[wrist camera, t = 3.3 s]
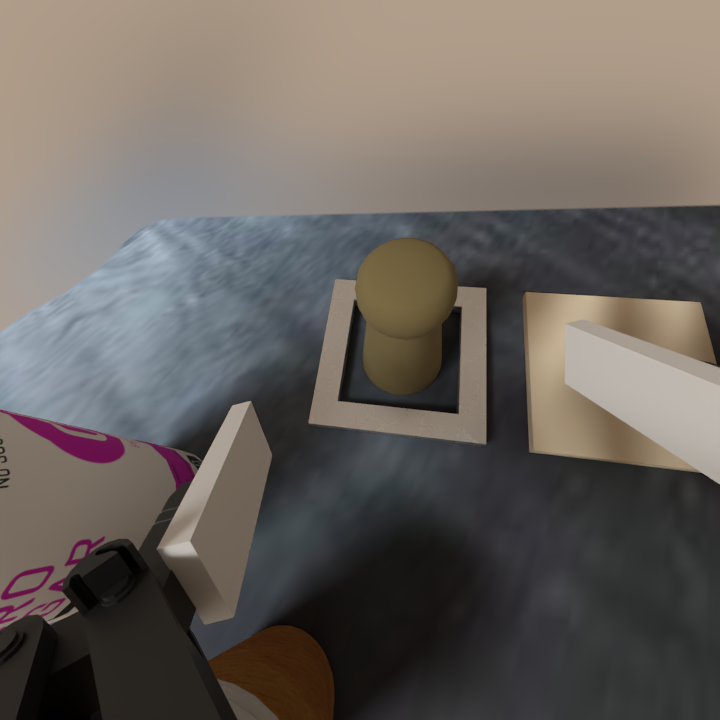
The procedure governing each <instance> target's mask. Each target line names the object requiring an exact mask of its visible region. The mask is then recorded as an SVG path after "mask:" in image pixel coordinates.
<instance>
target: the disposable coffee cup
mask: <svg viewBox="0 0 720 720" xmlns="http://www.w3.org/2000/svg"><path fill="white" fill-rule="evenodd" d="M208 663H209V665H210V667H211V669H212V671H213V672H214V674H215V676H216V678H217V680H218V682H219V684H220V686H221V688H222V690H223V692H224V694H225V696H226V698H227V700H228V702H229V704H230V706H231V708H232V710H233V712H234V713H235V715H236V717H237V719H238V720H333V708H334V694H335V689H334V681H333V674H332V671H331V668H330V665H329V662H328V659H327V657H326V655H325V653H324V651H323V649H322V648H321V647H320V645H319V644H318V643H317V641H316V640H315V639H313V638H312V637H311V636H310V635H309V634H308V633H306V632H304V631H303V630H301V629H299V628H296V627H293V626H284V625H277V626H272V627H268V628H266V629H264V630H262V631H260V632H258V633H257V634H255V635H253V636H252V637H250V638H248V639H246V640H244V641H243V642H241V643H239V644H237V645H236V646H234V647H232V648H230V649H228V650H227V651H225V652H223V653H221V654H220V655H218V656H216V657H214V658H213V659H211V660H209V661H208Z"/></svg>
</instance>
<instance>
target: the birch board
mask: <svg viewBox="0 0 720 720" xmlns="http://www.w3.org/2000/svg"><path fill="white" fill-rule="evenodd" d="M522 300H523V323H524V345H525V367H526V390H527V412H528V435H529V452H533V453H541V454H549V455H558V456H566V457H574V458H583V459H591V460H599V461H608V462H616V463H624V464H633V465H641V466H649V467H658V468H666V469H675V470H683V471H691V472H700V471H698V470H697V469H695V468H694V467H692V466H691V465H689V464H688V463H686V462H685V461H683V460H682V459H680V458H679V457H677V456H676V455H674V454H672V453H671V452H669V451H668V450H666V449H665V448H663V447H662V446H660V445H659V444H657V443H656V442H654V441H653V440H651V439H649V438H648V437H646V436H645V435H643V434H642V433H640V432H639V431H637V430H636V429H634V428H633V427H631V426H630V425H628V424H627V423H625V422H623V421H622V420H620V419H619V418H617V417H616V416H614V415H613V414H611V413H610V412H608V411H607V410H605V409H604V408H602V407H600V406H599V405H597V404H596V403H594V402H593V401H591V400H590V399H588V398H587V397H585V396H584V395H582V394H581V393H579V392H578V391H576V390H574V389H573V388H571V387H570V386H568V385H567V384H565V324H566V323H570V322H574V321H578V320H582V319H584V320H587V321H590V322H593V323H595V324H598V325H601V326H604V327H607V328H609V329H612V330H615V331H618V332H621V333H623V334H626V335H629V336H632V337H635V338H637V339H640V340H643V341H646V342H649V343H651V344H654V345H657V346H660V347H663V348H665V349H668V350H671V351H674V352H677V353H679V354H682V355H685V356H688V357H691V358H693V359H696V360H701V361H707V362H711V363H714V364H717V363H716V360H715V356H714V352H713V348H712V344H711V340H710V337H709V333H708V329H707V325H706V321H705V318H704V314H703V310H702V306H701V302H685V301H669V300H652V299H635V298H618V297H602V296H585V295H568V294H551V293H535V292H526V293H525V294H524V296H523V297H522ZM700 473H702V472H700Z"/></svg>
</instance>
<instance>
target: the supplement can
mask: <svg viewBox="0 0 720 720" xmlns="http://www.w3.org/2000/svg"><path fill="white" fill-rule="evenodd" d="M202 462H203V461H202V460H200V459H199V458H198V457H197V456H196V455H194V454H191V453H188V452H185V451H182V450H178V449H174V448H170V447H165V446H161V445H156V444H152V443H147V442H143V441H138V440H134V439H129V438H125V437H120V436H116V435H111V434H107V433H102V432H98V431H93V430H89V429H84V428H80V427H75V426H71V425H66V424H62V423H57V422H53V421H48V420H44V419H39V418H35V417H30V416H26V415H21V414H17V413H12V412H8V411H4V410H0V630H2V629H4V628H5V627H7V626H8V625H10V624H11V623H13V622H14V621H17V620H19V619H21V618H23V617H26V616H28V615H36V614H38V615H40V616H41V617H42V618H44V619H45V621H46V622H47V623H48V624H50V623H52V622H55V621H58V620H60V619H63V618H66V617H68V616H70V615H72V614H74V613H76V612H78V610H77V609H76V607H75V606H74V605H73V604H72V603H71V602H70V600H69V599H68V598H67V597H66V596H65V594H64V593H63V592H62V586H63V582H64V580H65V579H66V577H67V575H68V574H69V572H70V571H71V570H72V569H73V568H74V567H75V566H76V564H77V563H78V562H79V561H80V560H81V559H83V558H84V557H85V556H87V555H88V554H89V553H90V552H92V551H93V550H94V549H96V548H98V547H100V546H102V545H104V544H105V543H107V542H110V541H113V540H116V539H129V540H130V541H131V542H132V543H133V544H134V546H135V547H136V549H137V550H139V548H140V547H141V545H142V543H143V541H144V540H145V538H146V536H147V535H148V533H149V531H150V529H151V528H152V526H153V525H155V521H156V519H157V517H158V516H159V514H160V513H162V509H163V507H164V505H165V504H166V502H167V500H168V498H169V497H170V496H171V495H172V494H173V493H174V492H175V491H176V490H177V489H178V488H179V487H180V486H181V485H182V484H183V483H187V482H191V481H193V479H194V477H195V475H196V473H197V472H198V470H199V468H200V466H201V464H202Z"/></svg>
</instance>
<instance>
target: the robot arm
mask: <svg viewBox="0 0 720 720" xmlns="http://www.w3.org/2000/svg"><path fill="white" fill-rule="evenodd" d="M565 384H567V385H568V386H570V387H571V388H573V389H574V390H576V391H578V392H579V393H581V394H582V395H584V396H585V397H587V398H588V399H590V400H591V401H593V402H594V403H596V404H597V405H599V406H600V407H602V408H604V409H605V410H607V411H608V412H610V413H611V414H613V415H614V416H616V417H617V418H619V419H620V420H622V421H623V422H625V423H627V424H628V425H630V426H631V427H633V428H634V429H636V430H637V431H639V432H640V433H642V434H643V435H645V436H646V437H648V438H649V439H651V440H653V441H654V442H656V443H657V444H659V445H660V446H662V447H663V448H665V449H666V450H668V451H669V452H671V453H672V454H674V455H676V456H677V457H679V458H680V459H682V460H683V461H685V462H686V463H688V464H689V465H691V466H692V467H694V468H695V469H697V470H698V471H700V472H702V473H703V474H705V475H706V476H708V477H709V478H711V479H712V480H714V481H715V482H717V483H718V484H720V365H717V364H714V363H711V362H707V361H701V360H696V359H693V358H691V357H688V356H685V355H682V354H679V353H677V352H674V351H671V350H668V349H665V348H663V347H660V346H657V345H654V344H651V343H649V342H646V341H643V340H640V339H637V338H635V337H632V336H629V335H626V334H623V333H621V332H618V331H615V330H612V329H609V328H607V327H604V326H601V325H598V324H595V323H593V322H590V321H587V320H584V319H582V320H578V321H574V322H570V323H566V324H565ZM271 459H272V453H271V451H270V448H269V445H268V443H267V440H266V438H265V435H264V433H263V430H262V428H261V425H260V423H259V420H258V418H257V415H256V413H255V410H254V408H253V405H252V403H251V401H248V402H244V403H240V404H236V405H232V407H231V409H230V411H229V413H228V415H227V417H226V418H225V420H224V422H223V424H222V426H221V428H220V430H219V432H218V434H217V435H216V437H215V439H214V441H213V443H212V445H211V447H210V449H209V451H208V453H207V454H206V456H205V458H204V460H203V462H202V464H201V466H200V468H199V470H198V472H197V473H196V475H195V477H194V479H193V481H191V482H187V483H183V484H182V485H181V486H180V487H179V488H178V489H177V490H176V491H175V492H174V493H173V494H172V495H171V496H170V497H169V498H168V500H167V502H166V504H165V505H164V507H163V509H162V513H160V514H159V516H158V517H157V519H156V521H155V525H153V526H152V528H151V529H150V531H149V533H148V535H147V536H146V538H145V540H144V541H143V543H142V545H141V547H140V548H139V550H137V549H136V547H135V546H134V544H133V543H132V542H131V541H130V540H129V539H116V540H113V541H110V542H107V543H105V544H104V545H102V546H100V547H98V548H96V549H94V550H93V551H92V552H90V553H89V554H88V555H87V556H85V557H84V558H83V559H81V560H80V561H79V562H78V563H77V564H76V566H75V567H74V568H73V569H72V570H71V571H70V572H69V574H68V575H67V577H66V579H65V580H64V582H63V586H62V592H63V593H64V594H65V596H66V597H67V598H68V599H69V600H70V602H71V603H72V604H73V605H74V606H75V607H76V609H77V610H78V612H76V613H74V614H72V615H70V616H68V617H66V618H64V619H62V620H60V621H58V622H56V623H54V624H52V625H49V624H48V623H47V622H46V621H45V619H44V618H42V617H41V616H40V615H38V614H36V615H28V616H26V617H23V618H21V619H19V620H17V621H14V622H13V623H11V624H10V625H8V626H7V627H5V628H4V629H2V630H0V720H238V719H237V717H236V715H235V713H234V712H233V710H232V708H231V706H230V704H229V702H228V700H227V698H226V696H225V694H224V692H223V690H222V688H221V686H220V684H219V682H218V680H217V678H216V676H215V674H214V672H213V671H212V669H211V667H210V665H209V663H208V661H207V659H206V657H205V655H204V653H203V651H202V649H201V647H200V645H199V643H198V641H197V639H196V637H195V635H194V634H193V632H192V631H191V629H190V625H191V622H192V619H193V616H194V613H195V610H196V612H197V614H198V615H199V617H200V618H201V620H202V621H203V623H204V625H205V624H209V623H213V622H217V621H221V620H226V619H230V618H234V615H235V611H236V607H237V602H238V598H239V594H240V590H241V585H242V581H243V577H244V573H245V569H246V564H247V560H248V556H249V552H250V547H251V543H252V539H253V535H254V530H255V526H256V522H257V518H258V514H259V509H260V505H261V501H262V497H263V492H264V488H265V484H266V480H267V475H268V471H269V467H270V463H271Z"/></svg>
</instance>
